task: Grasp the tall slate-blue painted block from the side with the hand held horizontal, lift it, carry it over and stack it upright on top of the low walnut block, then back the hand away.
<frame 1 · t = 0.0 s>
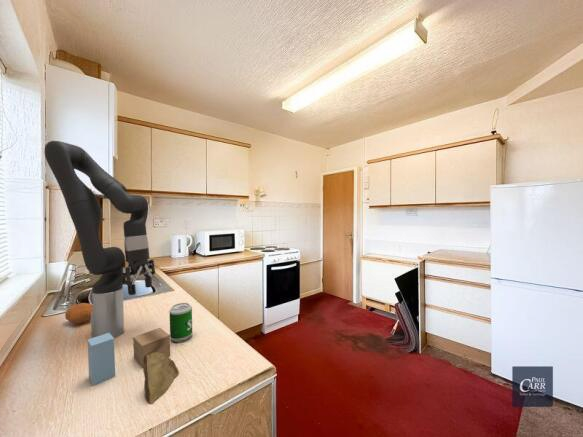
hand: (140, 290, 90), 17 cm above the worktop, tool pointing down, fingers open, 8 cm apart
rock: (163, 387, 65), on the worktop
soda can: (181, 338, 89), on the worktop
blue block: (102, 376, 68), on the worktop
walnut block: (152, 357, 78), on the worktop
potato: (82, 322, 103), on the worktop
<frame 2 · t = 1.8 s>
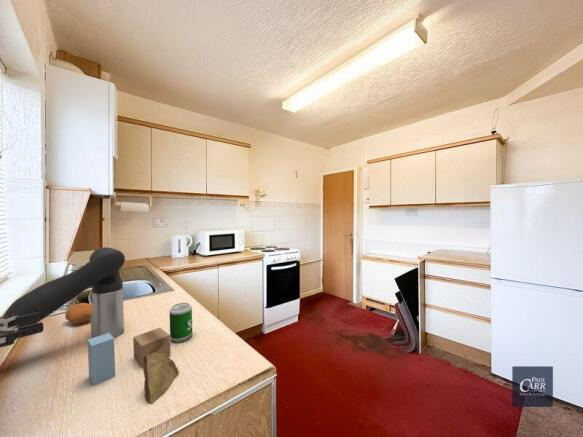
hand: (41, 321, 59), 20 cm above the worktop, tool horizontal, fingers open, 8 cm apart
nothing on the worktop moved.
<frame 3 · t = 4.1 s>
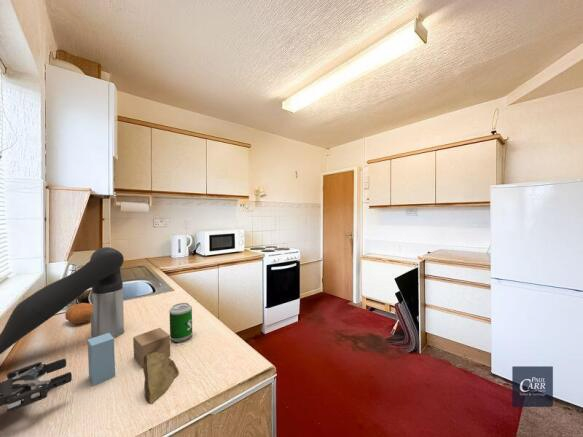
hand: (68, 369, 63), 6 cm above the worktop, tool horizontal, fingers open, 8 cm apart
nothing on the worktop moved.
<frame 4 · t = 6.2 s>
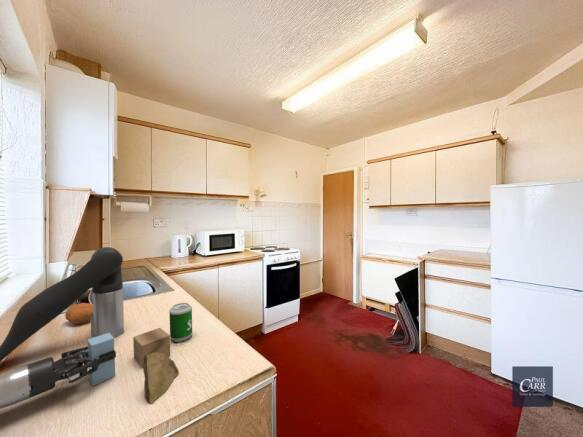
hand: (112, 350, 70), 7 cm above the worktop, tool horizontal, fingers closed on blue block, 5 cm apart
blue block: (102, 376, 68), on the worktop, touching gripper
everything else where it was.
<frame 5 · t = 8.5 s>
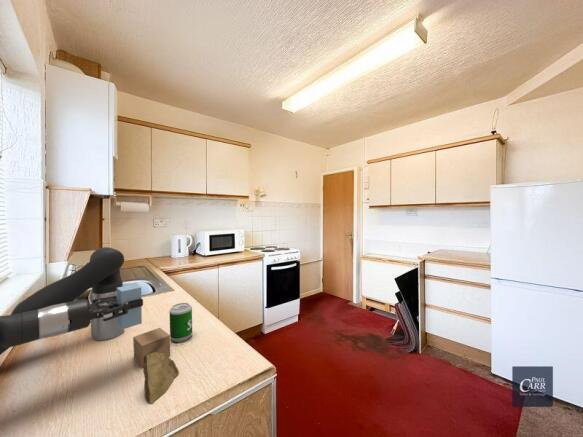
hand: (139, 299, 74), 20 cm above the worktop, tool horizontal, fingers closed on blue block, 5 cm apart
blue block: (129, 323, 72), point 13 cm above the worktop, touching gripper
everything else where it was.
when the fingers open (14 cm above the worktop, at t = 10.6 s): blue block stays where it is, resting on walnut block.
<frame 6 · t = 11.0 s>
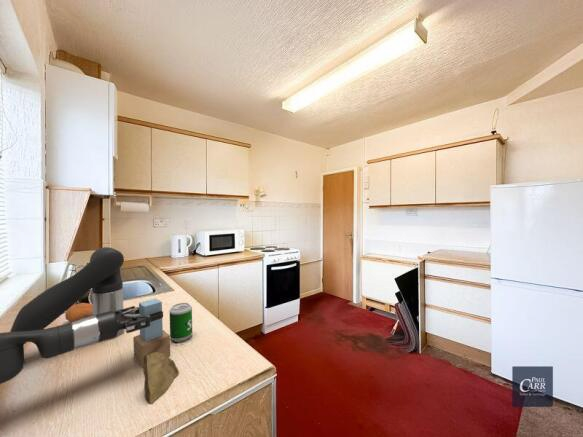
hand: (157, 310, 79), 14 cm above the worktop, tool horizontal, fingers open, 8 cm apart
blue block: (151, 336, 77), point 7 cm above the worktop, touching walnut block
walnut block: (152, 357, 78), on the worktop, touching blue block
everything else where it was.
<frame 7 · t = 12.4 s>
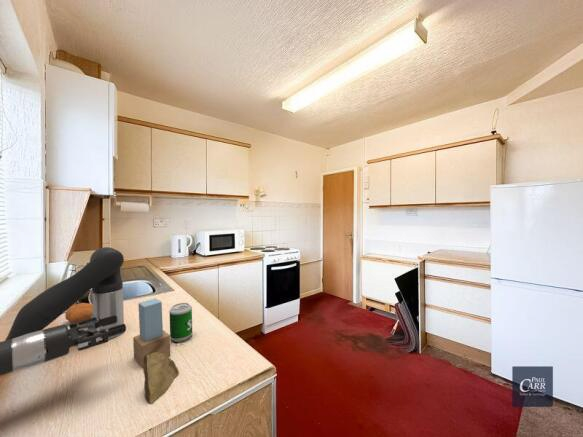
hand: (120, 322, 70), 14 cm above the worktop, tool horizontal, fingers open, 8 cm apart
nothing on the worktop moved.
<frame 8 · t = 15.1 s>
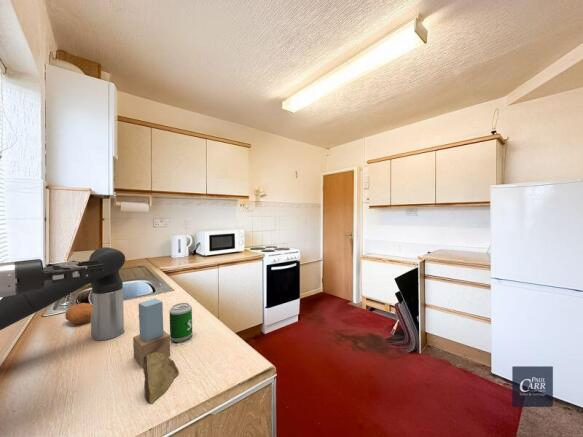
hand: (102, 265, 67), 32 cm above the worktop, tool horizontal, fingers open, 8 cm apart
blue block: (151, 336, 77), point 7 cm above the worktop
walnut block: (152, 357, 78), on the worktop
everything else where it was.
at the end: blue block 0.1 cm off-centre on the walnut block, point 7.0 cm above the walnut block's base; blue block tilted 0°; the gripper is holding nothing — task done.
